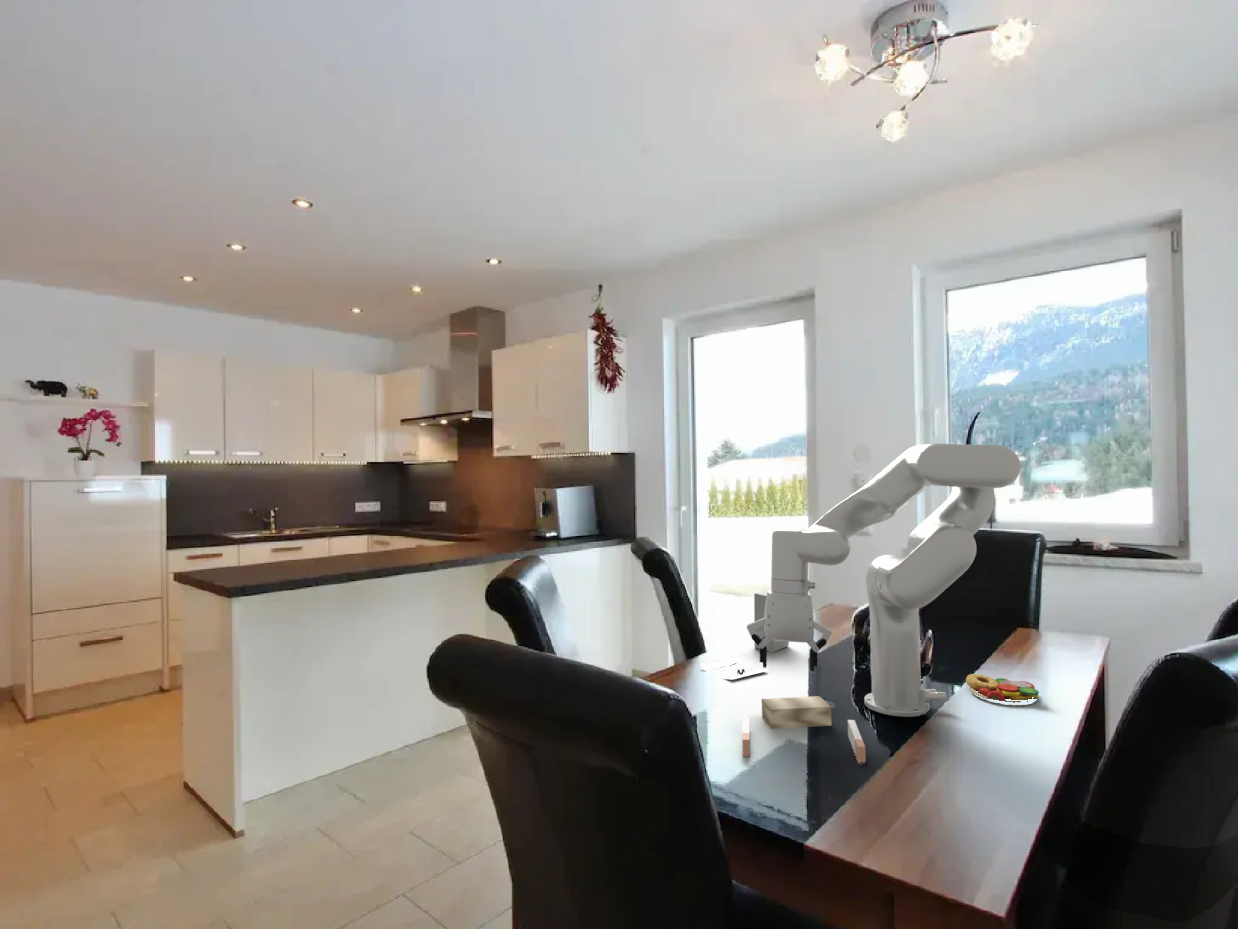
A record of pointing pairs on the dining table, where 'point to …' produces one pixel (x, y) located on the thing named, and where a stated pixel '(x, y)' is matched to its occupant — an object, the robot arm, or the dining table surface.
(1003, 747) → the dining table surface
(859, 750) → the walled lane
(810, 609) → the robot arm
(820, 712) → the birch block
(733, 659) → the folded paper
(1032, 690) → the toy food set
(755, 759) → the dining table surface
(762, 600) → the skincare box
